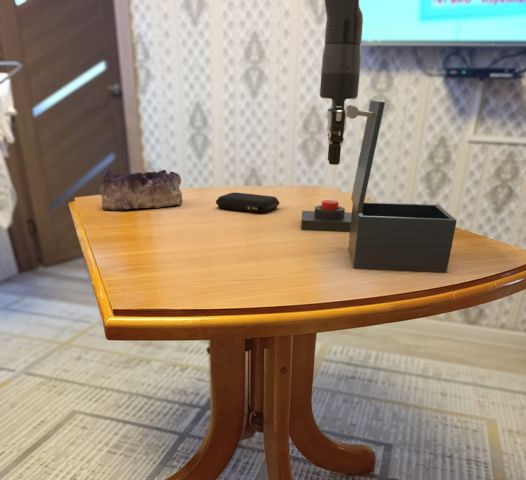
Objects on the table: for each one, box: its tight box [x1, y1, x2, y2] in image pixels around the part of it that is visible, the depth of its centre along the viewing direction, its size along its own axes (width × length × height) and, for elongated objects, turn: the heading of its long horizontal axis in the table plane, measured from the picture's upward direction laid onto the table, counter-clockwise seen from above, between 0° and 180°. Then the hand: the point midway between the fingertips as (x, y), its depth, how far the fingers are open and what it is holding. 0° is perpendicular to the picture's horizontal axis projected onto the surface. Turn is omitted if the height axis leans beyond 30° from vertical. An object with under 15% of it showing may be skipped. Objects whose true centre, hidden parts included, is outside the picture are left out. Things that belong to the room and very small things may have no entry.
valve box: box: [347, 201, 457, 274], centre depth 90 cm, size 16×13×9 cm
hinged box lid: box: [344, 100, 386, 214], centre depth 84 cm, size 16×13×5 cm
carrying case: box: [215, 192, 280, 214], centre depth 127 cm, size 11×3×15 cm
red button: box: [321, 199, 339, 210], centre depth 112 cm, size 4×4×2 cm
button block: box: [300, 204, 352, 233], centre depth 113 cm, size 12×10×4 cm
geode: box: [99, 169, 183, 212], centre depth 126 cm, size 20×12×10 cm, turn 125°
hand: (333, 162), depth 107 cm, fingers open, 5 cm apart
